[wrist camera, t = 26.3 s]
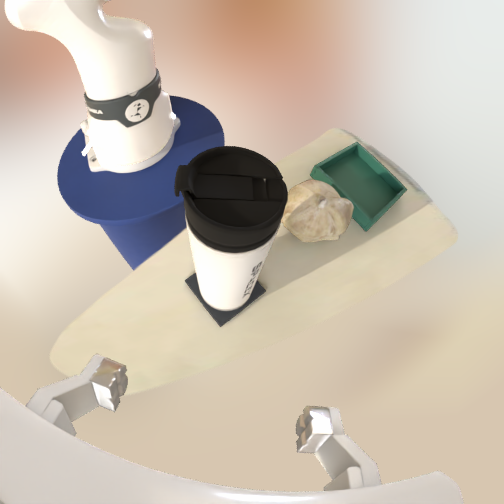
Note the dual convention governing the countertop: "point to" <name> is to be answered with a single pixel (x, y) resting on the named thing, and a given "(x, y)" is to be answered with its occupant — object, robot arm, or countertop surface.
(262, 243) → the travel mug
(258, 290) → the mat
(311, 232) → the garlic bulb
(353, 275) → the countertop surface
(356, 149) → the tray
